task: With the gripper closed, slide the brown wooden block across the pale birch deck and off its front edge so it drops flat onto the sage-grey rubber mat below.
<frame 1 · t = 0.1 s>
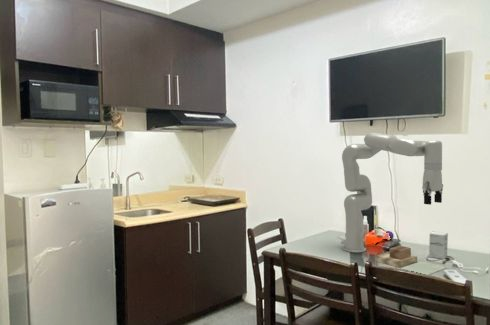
hand: (432, 203, 182), 31 cm above the table, tool pointing down, fingers open, 9 cm apart
birch deck: (396, 262, 195), on the table
brown wooden block: (400, 252, 193), point 5 cm above the table, touching birch deck
supplement box: (438, 257, 204), on the table
sage mat: (423, 268, 183), on the table
kendama: (382, 242, 238), on the table
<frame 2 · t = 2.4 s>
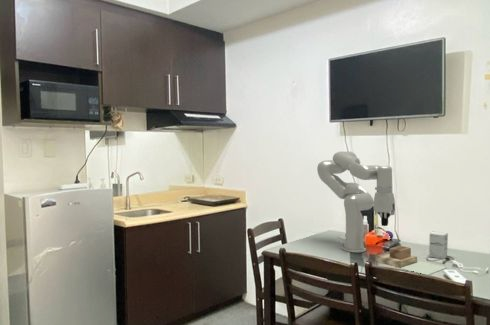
hand: (384, 225, 199), 18 cm above the table, tool pointing down, fingers closed
nothing on the table moved.
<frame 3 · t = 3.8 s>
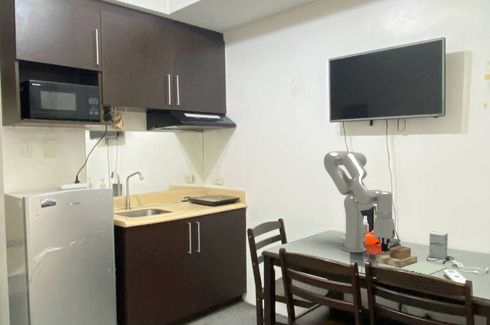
hand: (384, 250, 200), 4 cm above the table, tool pointing down, fingers closed
nothing on the table moved.
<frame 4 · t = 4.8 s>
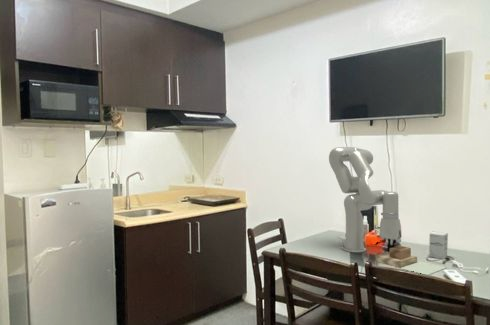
hand: (390, 251, 197), 5 cm above the table, tool pointing down, fingers closed
brown wooden block: (400, 252, 193), point 5 cm above the table, touching birch deck, gripper
everything else where it was.
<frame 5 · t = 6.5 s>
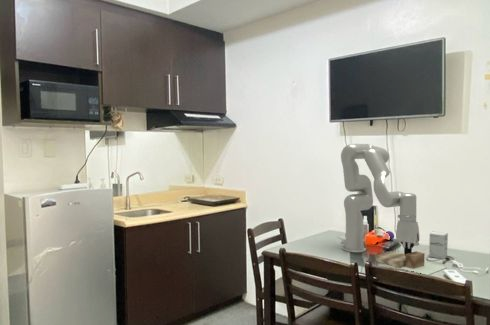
hand: (407, 255, 189), 4 cm above the table, tool pointing down, fingers closed
brown wooden block: (414, 259, 186), point 3 cm above the table, tilted 91°, touching gripper, sage mat
everything else where it was.
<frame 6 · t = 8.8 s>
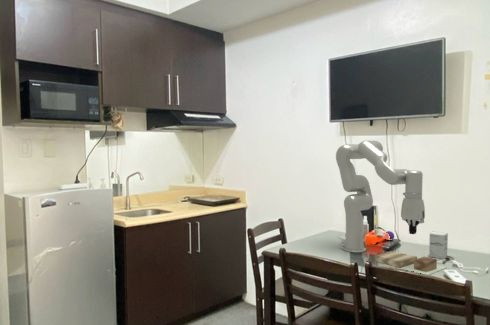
hand: (412, 233, 187), 16 cm above the table, tool pointing down, fingers closed
brown wooden block: (425, 264, 182), point 3 cm above the table, tilted 180°, touching sage mat
everything else where it was.
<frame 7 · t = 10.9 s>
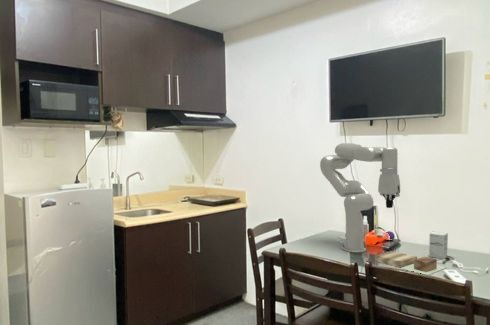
hand: (389, 207, 197), 27 cm above the table, tool pointing down, fingers closed
nothing on the table moved.
at the end: brown wooden block point 2.6 cm above the table; brown wooden block inside the target area on the sage mat (1.5 cm from its centre), point 2.6 cm above the sage mat's base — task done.
